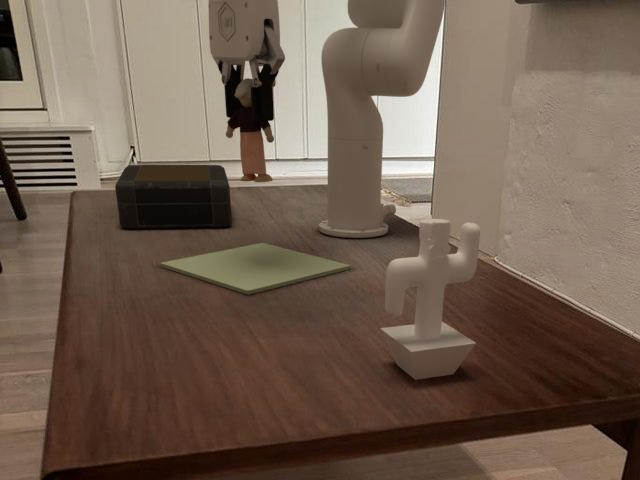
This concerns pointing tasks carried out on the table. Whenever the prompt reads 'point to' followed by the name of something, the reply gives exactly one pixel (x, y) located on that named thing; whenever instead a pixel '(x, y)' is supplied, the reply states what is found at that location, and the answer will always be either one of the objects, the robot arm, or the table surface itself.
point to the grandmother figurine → (250, 136)
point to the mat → (255, 267)
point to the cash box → (173, 197)
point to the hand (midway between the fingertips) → (249, 117)
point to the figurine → (430, 300)
